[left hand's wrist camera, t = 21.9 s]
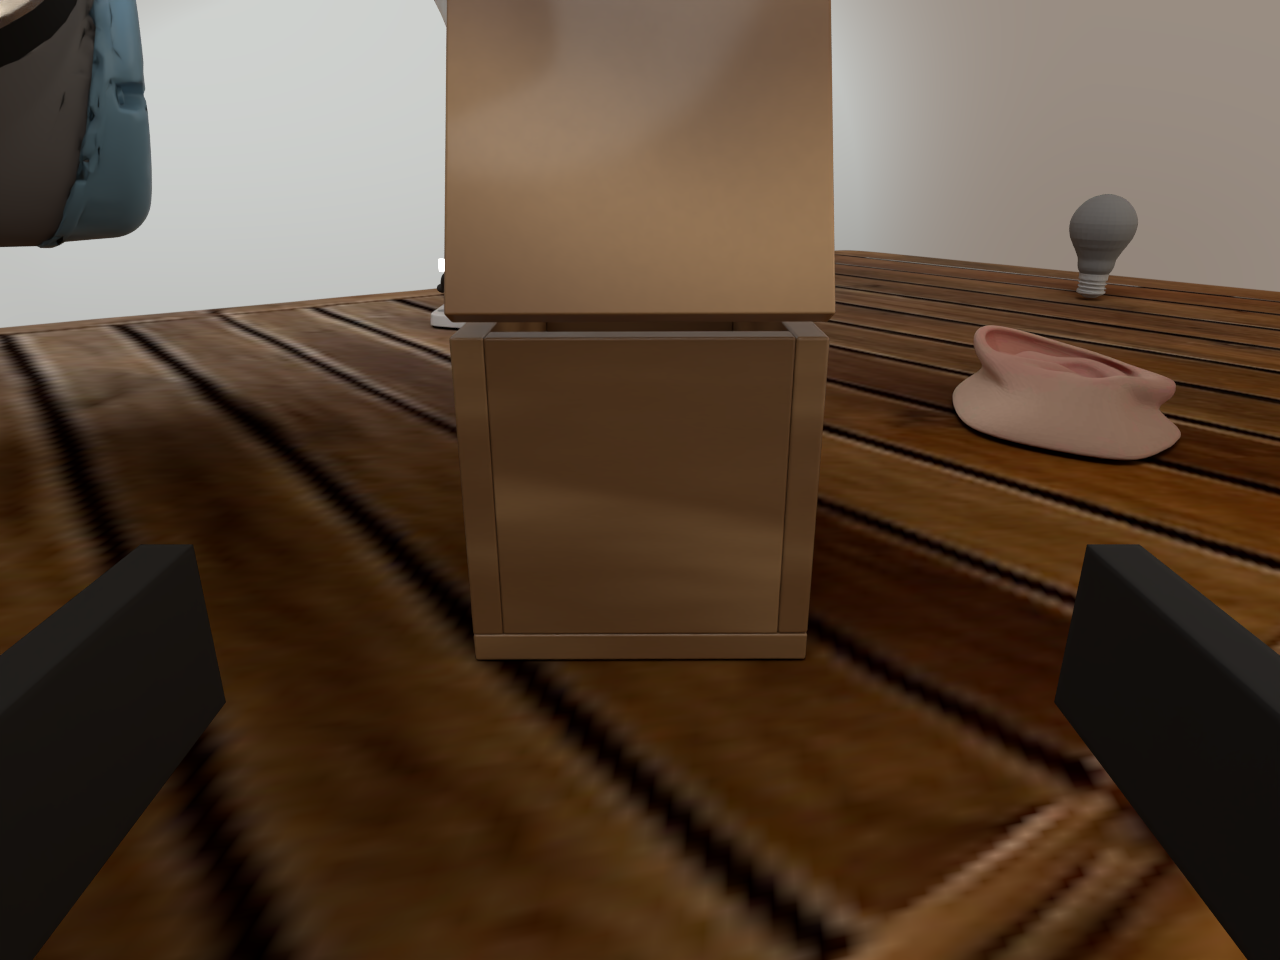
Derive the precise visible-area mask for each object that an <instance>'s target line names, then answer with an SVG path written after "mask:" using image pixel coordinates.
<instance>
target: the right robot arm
mask: <svg viewBox="0 0 1280 960" xmlns="http://www.w3.org/2000/svg"><path fill="white" fill-rule="evenodd" d="M434 1H435V3H436V5H437V7H438V9H439V11H440V13H441V15H442V17H443V20H444V22H445V25H446V27H447V0H434ZM438 261H439V271H442V272H444V259H438ZM437 290H438V291H439V292H441V293H444V274H443V275H442V277H441V284H439V285H438V286H437ZM465 323H466V322H460V323H453V322H451V321H450V320H449V319H448V318H447V317H446V316H445V314H444V305H442V306H441V307H439V308H438V309H437V310H435V311H434V312H432V313H431V325H433V326H441V327H455V328H461V327H462V326H463V325H464V324H465Z"/></svg>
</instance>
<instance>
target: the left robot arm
mask: <svg viewBox="0 0 1280 960" xmlns="http://www.w3.org/2000/svg"><path fill="white" fill-rule="evenodd" d="M144 91H145V84H144V76H143V55H142V45H141V37H140V28H139V20H138V12H137V6H136V0H0V247H17V246H38V247H40V248H53V247H56V246H58V245H60V244H62V243H64V242H68V241H79V240H91V239H102V238H114V237H121V236H124V235H127V234H129V233H131V232H133V231H134V230H136V229H137V228H138V227H139V226H140V225H141V224H142V223H143V222H144V220H145V219H146V217H147V215H148V212H149V210H150V205H151V194H152V170H151V149H150V134H149V123H148V112H147V105H146V100H145V98H144V95H143V94H144ZM225 702H226V701H225V696H224V691H223V687H222V682H221V677H220V672H219V667H218V663H217V658H216V653H215V648H214V643H213V639H212V634H211V629H210V624H209V619H208V615H207V610H206V605H205V600H204V595H203V591H202V586H201V581H200V576H199V571H198V566H197V562H196V557H195V552H194V547H193V545H140V546H138V547H137V548H136V549H135V550H133V551H132V552H131V553H129V554H128V555H127V556H126V557H124V558H123V559H122V560H121V561H119V562H118V563H117V564H116V565H114V566H113V567H112V568H110V569H109V570H108V571H107V572H105V573H104V574H103V575H102V576H100V577H99V578H98V579H97V580H95V581H94V582H93V583H91V584H90V585H89V586H88V587H86V588H85V589H84V590H83V591H81V592H80V593H79V594H78V595H76V596H75V597H74V598H72V599H71V600H70V601H69V602H67V603H66V604H65V605H64V606H62V607H61V608H60V609H59V610H57V611H56V612H55V613H54V614H52V615H51V616H50V617H48V618H47V619H46V620H45V621H43V622H42V623H41V624H40V625H38V626H37V627H36V628H35V629H33V630H32V631H31V632H29V633H28V634H27V635H26V636H24V637H23V638H22V639H21V640H19V641H18V642H17V643H16V644H14V645H13V646H12V647H10V648H9V649H8V650H7V651H5V652H4V653H3V654H2V655H0V960H33V958H34V957H35V956H36V954H37V953H38V952H39V950H40V949H41V948H42V946H43V945H44V944H45V942H46V941H47V940H48V938H49V937H50V936H51V934H52V933H53V932H54V930H55V929H56V928H57V926H58V925H59V924H60V922H61V921H62V920H63V918H64V917H65V916H66V914H67V913H68V912H69V910H70V909H71V908H72V906H73V905H74V904H75V902H76V901H77V900H78V898H79V897H80V896H81V894H82V893H83V892H84V890H85V889H86V888H87V886H88V885H89V884H90V882H91V881H92V880H93V878H94V877H95V876H96V874H97V873H98V872H99V870H100V869H101V868H102V866H103V865H104V864H105V862H106V861H107V860H108V858H109V857H110V856H111V854H112V853H113V852H114V850H115V849H116V848H117V846H118V845H119V844H120V842H121V841H122V840H123V838H124V837H125V836H126V834H127V833H128V832H129V830H130V829H131V828H132V826H133V825H134V824H135V822H136V821H137V820H138V818H139V817H140V816H141V814H142V813H143V812H144V810H145V809H146V808H147V806H148V805H149V804H150V802H151V801H152V800H153V798H154V797H155V796H156V794H157V793H158V792H159V790H160V789H161V788H162V786H163V785H164V784H165V782H166V781H167V780H168V778H169V777H170V776H171V774H172V773H173V772H174V770H175V769H176V768H177V766H178V765H179V764H180V762H181V761H182V760H183V758H184V757H185V756H186V754H187V753H188V752H189V750H190V749H191V748H192V746H193V745H194V744H195V742H196V741H197V740H198V738H199V737H200V736H201V734H202V733H203V732H204V730H205V729H206V728H207V726H208V725H209V724H210V722H211V721H212V720H213V718H214V717H215V716H216V714H217V713H218V712H219V710H220V709H221V708H222V706H223V705H224V704H225ZM1054 702H1055V704H1056V705H1057V706H1058V708H1059V709H1060V710H1061V712H1062V713H1063V714H1064V716H1065V717H1066V718H1067V720H1068V721H1069V722H1070V724H1071V725H1072V726H1073V728H1074V729H1075V730H1076V732H1077V733H1078V734H1079V736H1080V737H1081V738H1082V740H1083V741H1084V742H1085V744H1086V745H1087V746H1088V748H1089V749H1090V750H1091V752H1092V753H1093V754H1094V756H1095V757H1096V758H1097V760H1098V761H1099V762H1100V764H1101V765H1102V766H1103V768H1104V769H1105V770H1106V772H1107V773H1108V774H1109V776H1110V777H1111V778H1112V780H1113V781H1114V782H1115V784H1116V785H1117V786H1118V788H1119V789H1120V790H1121V792H1122V793H1123V794H1124V796H1125V797H1126V798H1127V800H1128V801H1129V802H1130V804H1131V805H1132V806H1133V808H1134V809H1135V810H1136V812H1137V813H1138V814H1139V816H1140V817H1141V818H1142V820H1143V821H1144V822H1145V824H1146V825H1147V826H1148V828H1149V829H1150V830H1151V832H1152V833H1153V834H1154V836H1155V837H1156V838H1157V840H1158V841H1159V842H1160V844H1161V845H1162V846H1163V848H1164V849H1165V850H1166V852H1167V853H1168V854H1169V856H1170V857H1171V858H1172V860H1173V861H1174V862H1175V864H1176V865H1177V866H1178V868H1179V869H1180V870H1181V872H1182V873H1183V874H1184V876H1185V877H1186V878H1187V880H1188V881H1189V882H1190V884H1191V885H1192V886H1193V888H1194V889H1195V890H1196V892H1197V893H1198V894H1199V896H1200V897H1201V898H1202V900H1203V901H1204V902H1205V904H1206V905H1207V906H1208V908H1209V909H1210V910H1211V912H1212V913H1213V914H1214V916H1215V917H1216V918H1217V920H1218V921H1219V922H1220V924H1221V925H1222V926H1223V928H1224V929H1225V930H1226V932H1227V933H1228V934H1229V936H1230V937H1231V938H1232V940H1233V941H1234V942H1235V944H1236V945H1237V946H1238V948H1239V949H1240V950H1241V952H1242V953H1243V954H1244V956H1245V957H1246V958H1247V960H1280V655H1278V654H1277V653H1276V652H1275V651H1273V650H1272V649H1271V648H1270V647H1268V646H1267V645H1266V644H1264V643H1263V642H1262V641H1261V640H1259V639H1258V638H1257V637H1256V636H1254V635H1253V634H1252V633H1251V632H1249V631H1248V630H1247V629H1245V628H1244V627H1243V626H1242V625H1240V624H1239V623H1238V622H1237V621H1235V620H1234V619H1233V618H1232V617H1230V616H1229V615H1228V614H1226V613H1225V612H1224V611H1223V610H1221V609H1220V608H1219V607H1218V606H1216V605H1215V604H1214V603H1213V602H1211V601H1210V600H1209V599H1208V598H1206V597H1205V596H1204V595H1202V594H1201V593H1200V592H1199V591H1197V590H1196V589H1195V588H1194V587H1192V586H1191V585H1190V584H1189V583H1187V582H1186V581H1185V580H1183V579H1182V578H1181V577H1180V576H1178V575H1177V574H1176V573H1175V572H1173V571H1172V570H1171V569H1170V568H1168V567H1167V566H1166V565H1164V564H1163V563H1162V562H1161V561H1159V560H1158V559H1157V558H1156V557H1154V556H1153V555H1152V554H1151V553H1149V552H1148V551H1147V550H1145V549H1144V548H1143V547H1142V546H1140V545H1087V547H1086V552H1085V557H1084V562H1083V566H1082V571H1081V576H1080V581H1079V586H1078V591H1077V595H1076V600H1075V605H1074V610H1073V615H1072V619H1071V624H1070V629H1069V634H1068V639H1067V643H1066V648H1065V653H1064V658H1063V663H1062V667H1061V672H1060V677H1059V682H1058V687H1057V691H1056V696H1055V701H1054Z"/></svg>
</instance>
